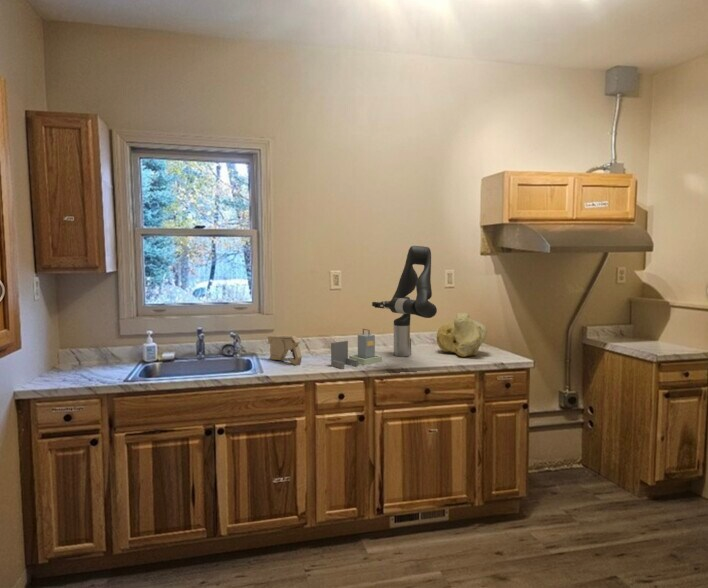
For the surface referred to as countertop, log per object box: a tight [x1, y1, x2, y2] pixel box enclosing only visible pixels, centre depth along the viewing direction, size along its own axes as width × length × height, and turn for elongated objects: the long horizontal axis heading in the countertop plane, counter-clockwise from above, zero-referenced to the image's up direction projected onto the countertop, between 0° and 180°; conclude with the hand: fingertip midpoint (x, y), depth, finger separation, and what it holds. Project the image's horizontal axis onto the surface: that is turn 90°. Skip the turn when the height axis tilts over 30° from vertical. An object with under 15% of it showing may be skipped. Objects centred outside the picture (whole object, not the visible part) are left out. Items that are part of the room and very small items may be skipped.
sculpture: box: [436, 311, 487, 358], centre depth 286 cm, size 25×26×30 cm
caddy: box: [357, 328, 376, 359], centre depth 267 cm, size 6×7×17 cm
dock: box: [330, 340, 359, 370], centre depth 258 cm, size 10×10×12 cm
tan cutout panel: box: [267, 335, 303, 366], centre depth 269 cm, size 24×3×15 cm, turn 47°
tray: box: [348, 353, 383, 366], centre depth 269 cm, size 12×13×3 cm
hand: (378, 303), depth 258 cm, fingers open, 8 cm apart
